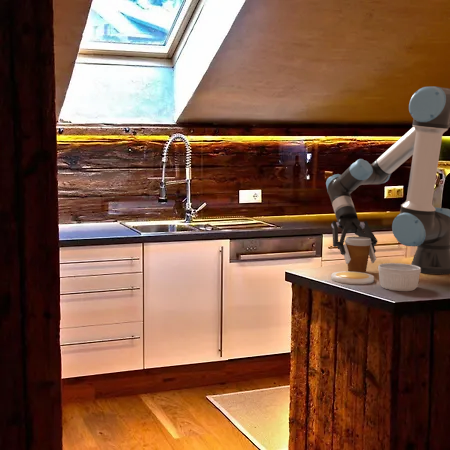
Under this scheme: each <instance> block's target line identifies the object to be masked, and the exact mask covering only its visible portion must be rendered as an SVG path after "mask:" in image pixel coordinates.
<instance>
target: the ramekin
mask: <svg viewBox="0 0 450 450" xmlns="http://www.w3.org/2000/svg"><path fill="white" fill-rule="evenodd" d="M377 269H378V270H377V271H378V278H379V279H378V280H379V284H380V286H381V287H382V288H383V289H386V290H388V291H389V290H390V291H396V292H397V291H399V292H410V291H414V290H416V289H417V288H418V286H419V280H420V275H421V268H420V267H418V266H415V265H411V264H408V263H401V262H399V263H398V262H397V263H395V262H388V263H387V262H386V263H380V264H378V267H377Z"/></svg>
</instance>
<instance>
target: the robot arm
mask: <svg viewBox="0 0 450 450" xmlns="http://www.w3.org/2000/svg"><path fill="white" fill-rule="evenodd" d="M408 111H409V114H410V116H411V117H412V118H413V119H412V127H411V128H410V129H409V130H408V131H407V132H405V134H404V135H402V136H401V137H400V138H399V139H398V140H397V141H396V142H395V143H393V144H392V145H391V146H390V147H389V148H388V149H387V150H386V151H385V152H383V153H382V154H381V155H380V156H379V157H378V158H377V159H375V161H374V162H372V163H369V161H367V160H364V159H363V158H359V159H357V160H355V162H353V163H352V164H350V166H349V167H348V168H347V169H346V170H345V171H344V172H343V173H342V174H339V173H337V174H335V173H334V174H333V175H332V176H329V177H328V178H327V179H326V182H325V185H326V190H327V194H328V196H329V199H330V202H331V205H332V209H333V212H334V215H335V218H336V220H333V221H332V223H331V225H330V228H331V231H332V246H333V247H334V248H335V247H337V250H339V252H340V254H341V255H342V256H343V257H344V260H345V264H347V265H348V263H349V262H350V260H351V258H350V255H349V252H348V249H347V246H346V244H345V240H346V237H347V236H346V235H347V234H349V233H352V234H353V233H354V235H356V236H357V237H367V238H370V239H371V242H372V243H371V245H370V251H369V259H370V261H371V264H374V263H375V262H376V260H377V257H376V252H377V251H376V245H377V244H378V239H377V238H376V236H375V234H374V232H373V231H372V230H371V228H370V226H369V222H368V221H367V220H364V221H360V220H359V218H358V214H357V211H356V208H355V205H354V202H353V200H352V196H351V194H352V193H353V192H354V191H355V190H356V189H357V188H359V186H362V185H363V186H365V185H366V186H367V185H381V184H385V183H386V182H388V181H389V180H390V177H391V175H392V173H393V172H395V171H396V170H397V169H398V168H399V167H400V166H401V165H403V164H404V163H405V162H407V160H408V159H410V158H411V157H412V158H411V159H412V160H411V166H410V172H409V180H408V185H407V186H408V187H407V195H406V200H405V201H404V202H402V204H400V209H399V211H400V212H399V214H397V216H396V217H394V219H393V221H392V225H391V229H392V234H393V236H394V238H395V239H396V240H397V242H398V243H400V244H401V245H403V246H406V247H416V251H415V252H414V255H413V259H412V261H411V264H410V265H415V266H418V267H420V268H421V272H420V274H429V275H449V274H450V209H449V208H444V207H435V206H434V205H433V199H434V192H435V186H436V179H437V173H438V166H439V159H440V152H441V146H442V142H443V141H442V140H443V134H444V133H445V132H447V131H448V130H449V128H450V88H449V87H441V86H423V87H421V88H419V89H418V90H416V91H415V92H414V93H413V94H412V96H411V98H410V100H409V104H408ZM339 228H340V229H341V230H342V231H341V234H340V237H339Z"/></svg>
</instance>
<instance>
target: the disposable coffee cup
mask: <svg viewBox="0 0 450 450" xmlns="http://www.w3.org/2000/svg"><path fill="white" fill-rule="evenodd" d="M371 243H372V242H371V239H370V238H367V237H359V236H358V235H356V236H353V235H352V236H345V240H344V244H346V246H347V249H348V252H349V255H350V258H351V260H350V262H349V263H348V264H347V271H350V272H362V273H367V268H368V262H369V258H370V256H369V251H370V245H371Z"/></svg>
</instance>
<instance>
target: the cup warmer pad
mask: <svg viewBox="0 0 450 450" xmlns="http://www.w3.org/2000/svg"><path fill="white" fill-rule="evenodd" d="M330 277H331V278H330V280H331V281H333V282H335V283H340V284H345V285H367V284H369V285H370V284H372V283H374V282H375V281H374V279H375V276H374V275H373V274H371V273H367V272H365V273H362V272H350V271H348V270H347V271H344V270H343V271H335V272H332V273H331V276H330Z"/></svg>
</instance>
